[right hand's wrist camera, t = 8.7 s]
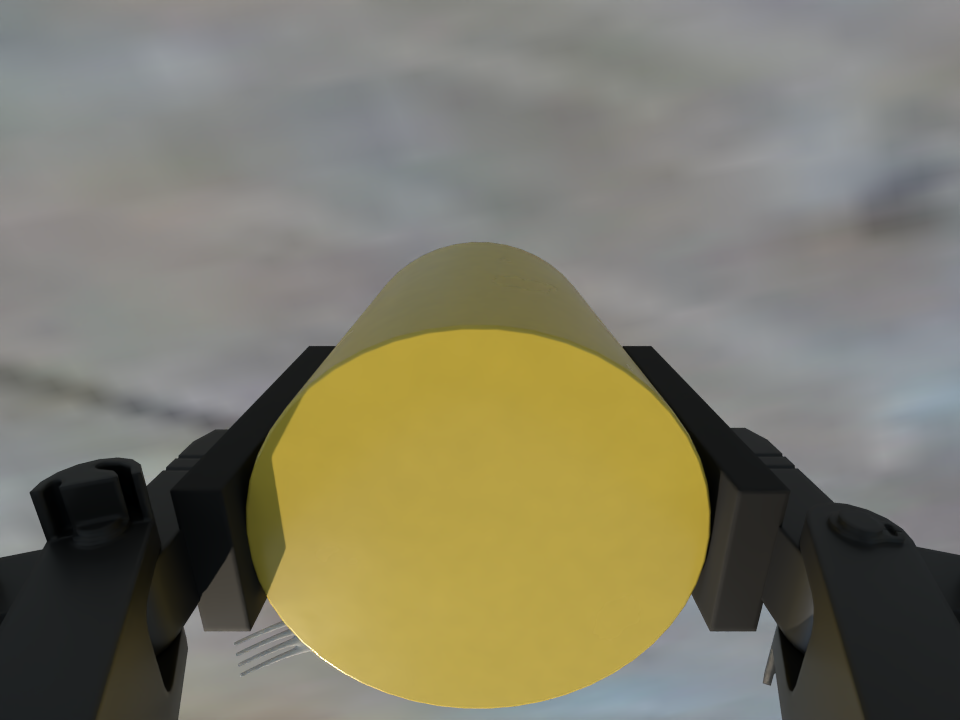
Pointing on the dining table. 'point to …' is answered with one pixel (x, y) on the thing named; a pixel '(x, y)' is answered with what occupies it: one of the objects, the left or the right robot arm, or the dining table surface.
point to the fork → (292, 642)
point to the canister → (478, 491)
